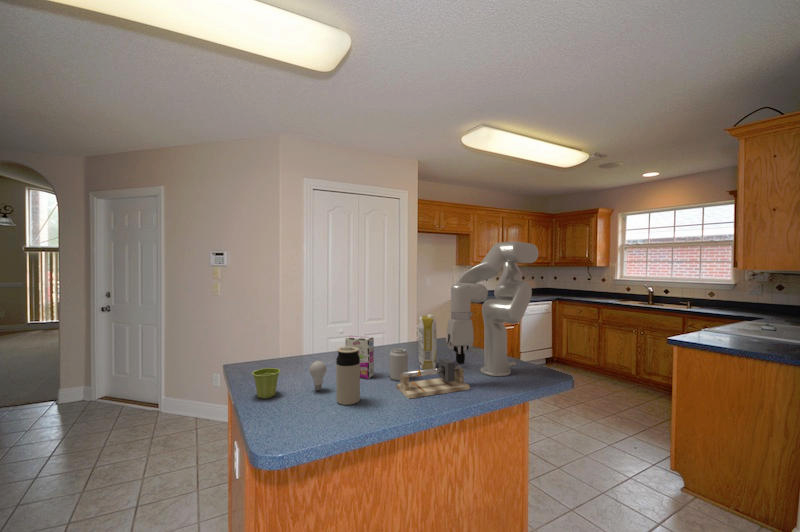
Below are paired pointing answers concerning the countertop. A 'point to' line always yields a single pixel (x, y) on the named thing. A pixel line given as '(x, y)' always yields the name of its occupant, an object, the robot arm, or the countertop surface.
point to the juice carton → (427, 342)
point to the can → (398, 363)
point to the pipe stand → (432, 386)
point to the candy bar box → (363, 354)
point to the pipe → (428, 371)
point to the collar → (447, 369)
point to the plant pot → (266, 382)
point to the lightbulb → (318, 373)
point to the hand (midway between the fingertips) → (460, 363)
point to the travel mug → (348, 375)
